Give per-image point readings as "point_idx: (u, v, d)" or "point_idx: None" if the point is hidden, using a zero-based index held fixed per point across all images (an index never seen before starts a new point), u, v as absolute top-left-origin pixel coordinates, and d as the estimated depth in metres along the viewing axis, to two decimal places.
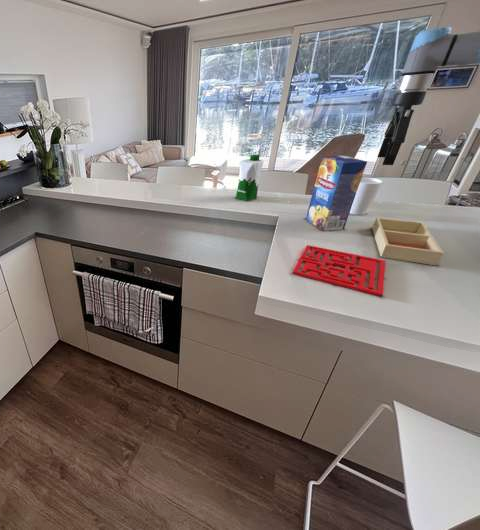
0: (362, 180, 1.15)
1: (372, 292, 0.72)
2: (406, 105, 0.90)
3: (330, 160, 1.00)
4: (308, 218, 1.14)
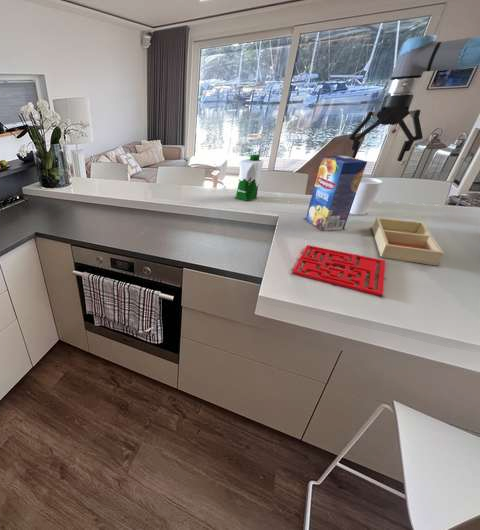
0: (362, 180, 1.15)
1: (372, 292, 0.72)
2: (409, 106, 0.96)
3: (330, 160, 1.00)
4: (308, 218, 1.14)
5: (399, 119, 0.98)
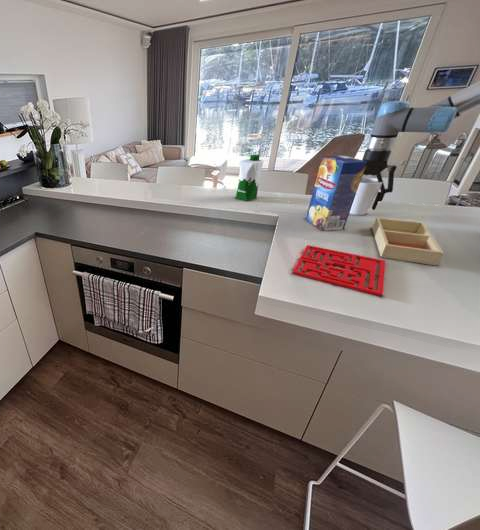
0: (362, 180, 1.15)
1: (372, 292, 0.72)
2: (387, 160, 1.06)
3: (330, 160, 1.00)
4: (308, 218, 1.14)
5: (377, 171, 1.08)
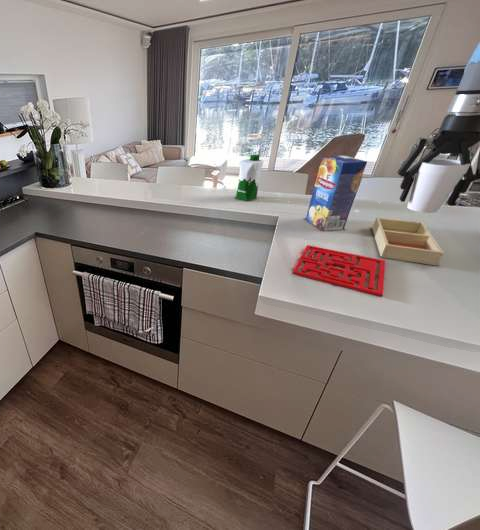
0: (433, 163, 0.80)
1: (372, 292, 0.72)
2: None
3: (330, 160, 1.00)
4: (308, 218, 1.14)
5: (464, 148, 0.72)
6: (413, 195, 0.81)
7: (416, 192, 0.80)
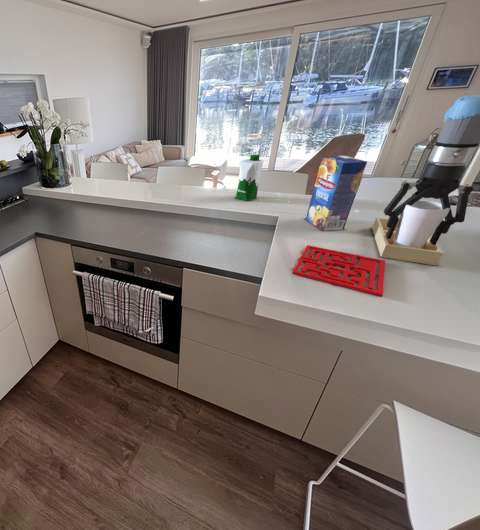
0: (417, 203, 0.85)
1: (372, 292, 0.72)
2: (459, 179, 0.75)
3: (330, 160, 1.00)
4: (308, 218, 1.14)
5: (444, 194, 0.77)
6: (398, 233, 0.86)
7: (401, 231, 0.85)
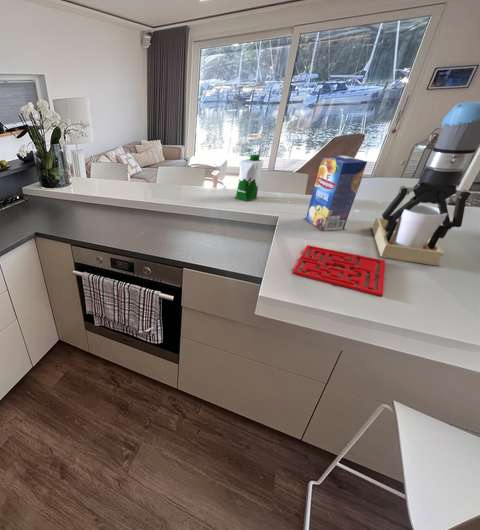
0: (415, 208, 0.85)
1: (372, 292, 0.72)
2: (457, 184, 0.76)
3: (330, 160, 1.00)
4: (308, 218, 1.14)
5: (441, 199, 0.78)
6: (396, 237, 0.87)
7: (399, 235, 0.86)
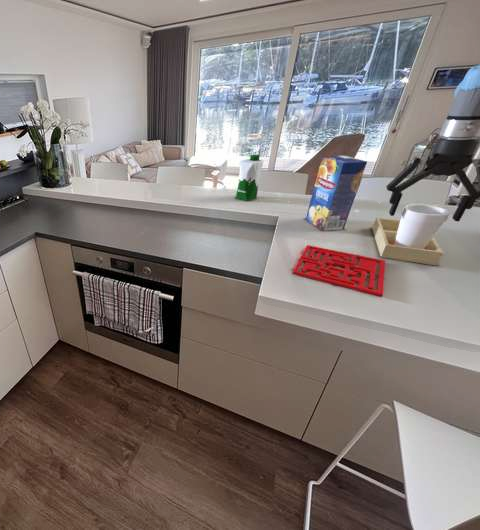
0: (416, 208, 0.86)
1: (372, 292, 0.72)
2: (473, 153, 0.72)
3: (330, 160, 1.00)
4: (308, 218, 1.14)
5: (458, 170, 0.74)
6: (398, 237, 0.87)
7: (401, 235, 0.86)
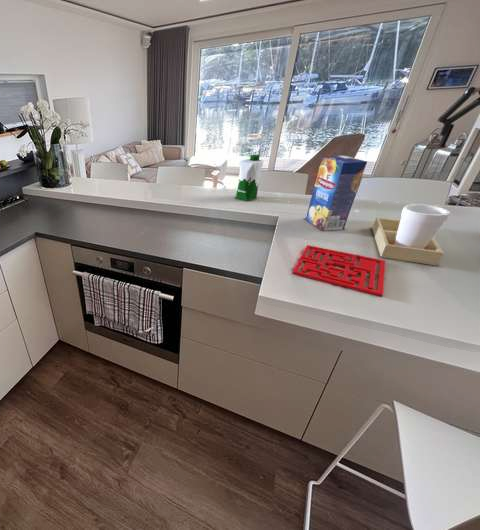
0: (416, 208, 0.86)
1: (372, 292, 0.72)
2: None
3: (330, 160, 1.00)
4: (308, 218, 1.14)
5: None
6: (398, 237, 0.87)
7: (401, 235, 0.86)
